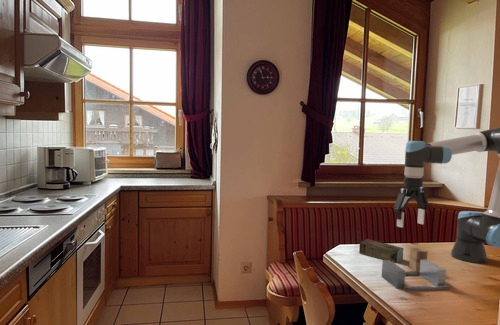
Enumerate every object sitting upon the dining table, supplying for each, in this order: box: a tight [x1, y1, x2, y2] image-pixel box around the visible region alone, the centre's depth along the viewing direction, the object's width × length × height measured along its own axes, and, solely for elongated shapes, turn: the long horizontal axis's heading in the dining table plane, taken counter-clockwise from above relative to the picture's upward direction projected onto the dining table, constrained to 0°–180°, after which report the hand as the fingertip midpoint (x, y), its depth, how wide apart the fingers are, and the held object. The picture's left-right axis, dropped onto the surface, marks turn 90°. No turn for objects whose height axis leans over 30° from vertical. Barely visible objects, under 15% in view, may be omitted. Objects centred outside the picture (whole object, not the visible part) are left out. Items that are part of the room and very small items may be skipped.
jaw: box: [418, 258, 447, 286], centre depth 152 cm, size 3×12×7 cm, turn 8°
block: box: [408, 247, 428, 271], centre depth 165 cm, size 5×5×9 cm
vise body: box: [381, 259, 451, 292], centre depth 151 cm, size 20×16×7 cm
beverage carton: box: [358, 238, 404, 264], centre depth 182 cm, size 8×19×7 cm, turn 48°
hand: (410, 225), depth 163 cm, fingers open, 13 cm apart
